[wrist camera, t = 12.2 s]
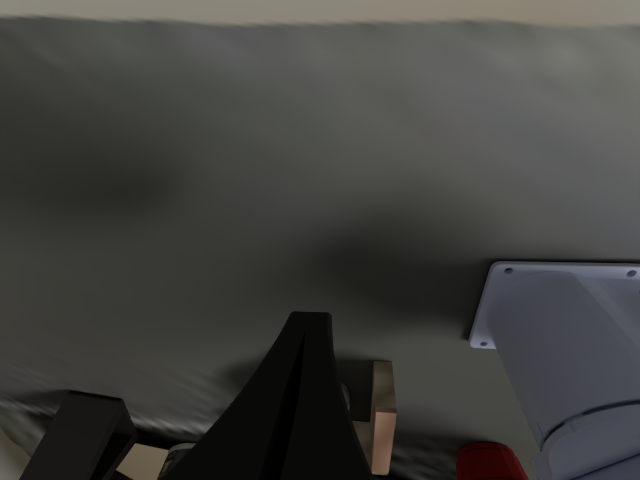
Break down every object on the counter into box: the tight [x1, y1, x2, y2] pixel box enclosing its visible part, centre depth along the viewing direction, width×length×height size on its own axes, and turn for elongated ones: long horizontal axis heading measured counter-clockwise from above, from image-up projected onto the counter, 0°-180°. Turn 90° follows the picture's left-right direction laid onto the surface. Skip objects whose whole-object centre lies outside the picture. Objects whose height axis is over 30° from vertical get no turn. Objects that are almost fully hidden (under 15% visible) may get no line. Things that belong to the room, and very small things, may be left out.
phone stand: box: [19, 391, 139, 480], centre depth 33 cm, size 9×6×12 cm, turn 173°
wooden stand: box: [352, 361, 397, 475], centre depth 29 cm, size 14×12×4 cm
